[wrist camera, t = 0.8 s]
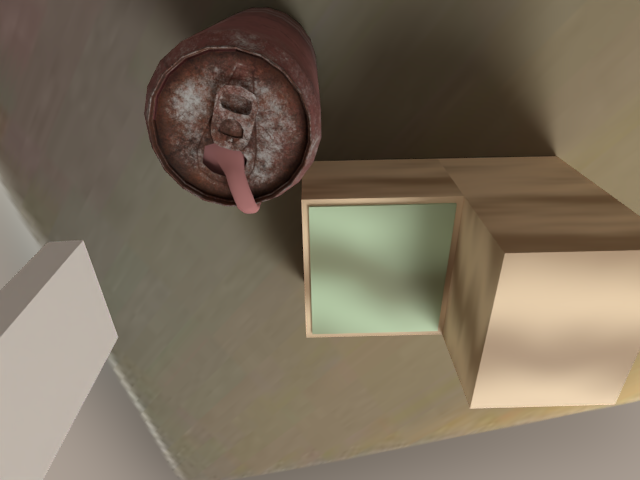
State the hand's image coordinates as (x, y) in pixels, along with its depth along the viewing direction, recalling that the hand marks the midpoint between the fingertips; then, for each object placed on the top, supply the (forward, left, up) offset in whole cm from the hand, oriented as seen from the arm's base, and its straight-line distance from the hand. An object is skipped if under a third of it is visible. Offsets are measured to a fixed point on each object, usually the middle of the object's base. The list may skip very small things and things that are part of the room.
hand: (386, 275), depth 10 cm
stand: (+10, +7, -20) cm, 24 cm away
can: (-1, -4, -20) cm, 21 cm away
